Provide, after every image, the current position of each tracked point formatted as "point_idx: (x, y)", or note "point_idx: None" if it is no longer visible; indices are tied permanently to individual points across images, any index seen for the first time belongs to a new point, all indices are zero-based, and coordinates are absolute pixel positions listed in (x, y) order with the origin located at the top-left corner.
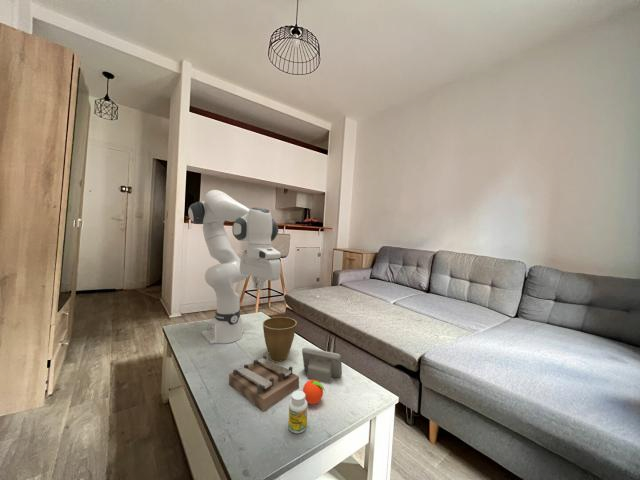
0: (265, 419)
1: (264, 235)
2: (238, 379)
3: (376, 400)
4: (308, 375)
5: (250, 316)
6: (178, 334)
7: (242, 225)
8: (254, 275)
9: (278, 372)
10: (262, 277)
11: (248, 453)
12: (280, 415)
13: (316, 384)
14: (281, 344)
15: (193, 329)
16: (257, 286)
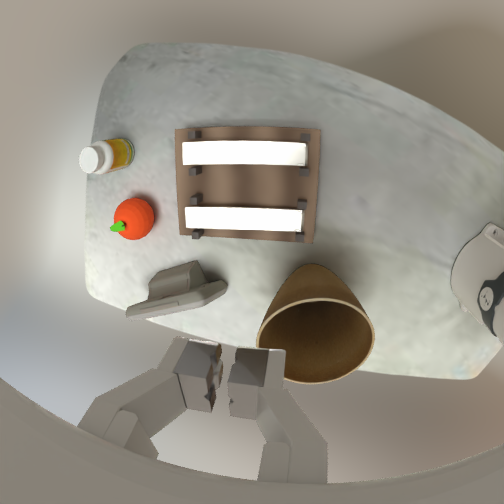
0: (168, 121)
1: None
2: (279, 130)
3: (93, 279)
4: (192, 263)
5: (482, 360)
6: None
7: None
8: (179, 483)
9: (211, 206)
10: (11, 399)
11: (139, 70)
12: (156, 147)
13: (115, 223)
14: (278, 291)
15: None
16: (202, 359)
